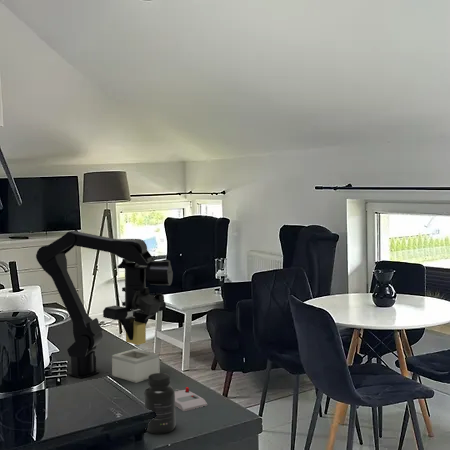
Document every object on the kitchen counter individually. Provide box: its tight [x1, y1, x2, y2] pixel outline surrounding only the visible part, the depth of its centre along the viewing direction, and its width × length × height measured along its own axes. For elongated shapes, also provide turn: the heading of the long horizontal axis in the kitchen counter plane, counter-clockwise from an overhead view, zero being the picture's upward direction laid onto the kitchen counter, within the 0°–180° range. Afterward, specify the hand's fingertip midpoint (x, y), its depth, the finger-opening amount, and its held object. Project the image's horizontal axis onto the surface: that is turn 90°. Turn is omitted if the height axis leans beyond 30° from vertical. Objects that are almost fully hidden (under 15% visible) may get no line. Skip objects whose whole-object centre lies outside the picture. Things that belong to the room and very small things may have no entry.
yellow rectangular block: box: [125, 320, 147, 346], centre depth 175 cm, size 3×5×6 cm, turn 49°
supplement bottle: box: [143, 372, 176, 435], centre depth 138 cm, size 7×7×12 cm
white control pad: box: [174, 386, 208, 412], centre depth 155 cm, size 7×16×3 cm, turn 33°
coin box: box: [111, 348, 161, 384], centre depth 176 cm, size 9×10×6 cm
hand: (135, 338), depth 175 cm, fingers closed on yellow rectangular block, 3 cm apart
